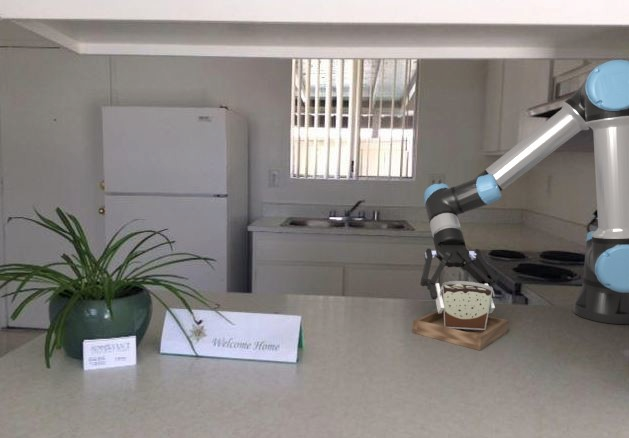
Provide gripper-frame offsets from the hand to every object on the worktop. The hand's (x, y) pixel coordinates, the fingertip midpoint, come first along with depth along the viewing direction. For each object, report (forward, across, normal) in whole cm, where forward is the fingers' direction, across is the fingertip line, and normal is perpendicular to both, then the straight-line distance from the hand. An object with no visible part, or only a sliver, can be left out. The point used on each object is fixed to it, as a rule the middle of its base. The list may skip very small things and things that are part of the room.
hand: (466, 310), depth 116 cm
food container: (+1, 0, -5) cm, 5 cm away
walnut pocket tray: (+2, 0, -6) cm, 7 cm away
